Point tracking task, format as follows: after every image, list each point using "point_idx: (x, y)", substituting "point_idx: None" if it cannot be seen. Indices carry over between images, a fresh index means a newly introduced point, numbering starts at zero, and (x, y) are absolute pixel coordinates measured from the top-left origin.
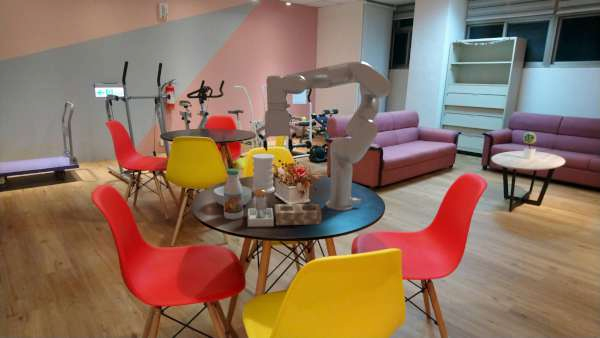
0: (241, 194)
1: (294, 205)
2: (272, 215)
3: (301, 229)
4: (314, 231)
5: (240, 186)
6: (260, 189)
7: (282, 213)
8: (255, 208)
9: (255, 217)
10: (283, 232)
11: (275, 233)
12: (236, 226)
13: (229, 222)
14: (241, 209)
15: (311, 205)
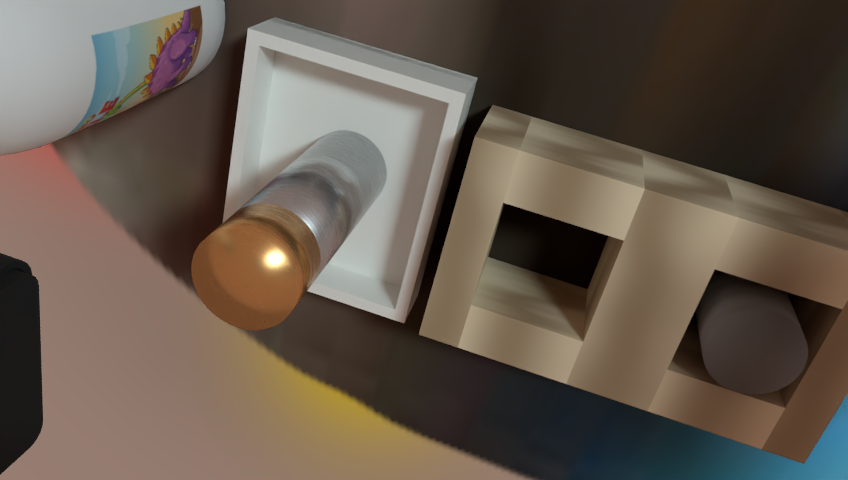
0: (95, 112)
1: (652, 233)
2: (414, 259)
3: (587, 413)
4: (658, 472)
5: (28, 125)
6: (243, 256)
7: (469, 349)
8: (311, 51)
9: (311, 132)
10: (450, 404)
11: (396, 396)
12: (170, 203)
13: (125, 116)
14: (177, 80)
15: (785, 359)
